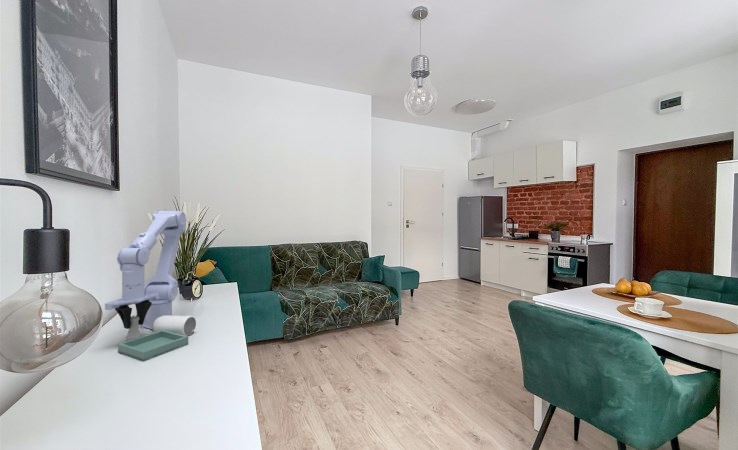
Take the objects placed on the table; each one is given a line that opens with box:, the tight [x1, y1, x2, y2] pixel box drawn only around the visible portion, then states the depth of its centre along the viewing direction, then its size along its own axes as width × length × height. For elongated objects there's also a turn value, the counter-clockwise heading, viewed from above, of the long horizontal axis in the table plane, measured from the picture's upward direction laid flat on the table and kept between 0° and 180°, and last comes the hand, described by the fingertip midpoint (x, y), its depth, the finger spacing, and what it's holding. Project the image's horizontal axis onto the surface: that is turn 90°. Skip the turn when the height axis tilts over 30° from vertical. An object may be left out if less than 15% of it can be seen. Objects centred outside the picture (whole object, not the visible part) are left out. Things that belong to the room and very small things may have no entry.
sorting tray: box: [117, 330, 189, 362], centre depth 93 cm, size 13×13×2 cm
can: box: [151, 315, 197, 337], centre depth 104 cm, size 6×6×12 cm
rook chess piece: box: [125, 314, 143, 342], centre depth 98 cm, size 4×4×8 cm
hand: (133, 326), depth 98 cm, fingers closed on rook chess piece, 3 cm apart
